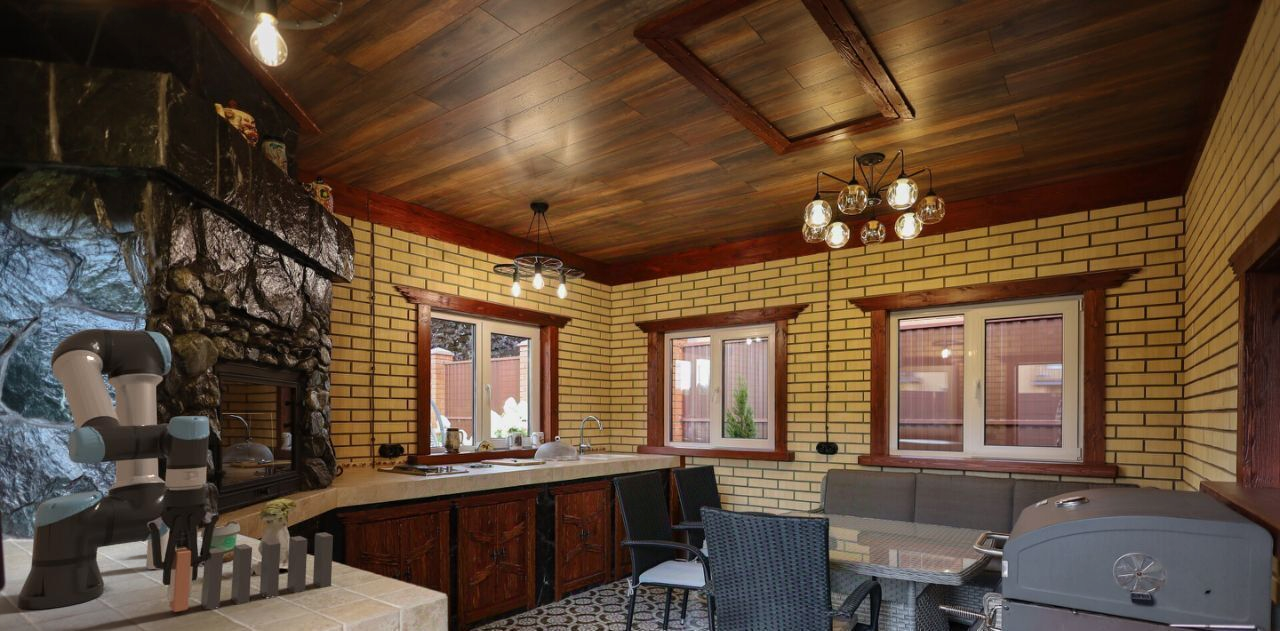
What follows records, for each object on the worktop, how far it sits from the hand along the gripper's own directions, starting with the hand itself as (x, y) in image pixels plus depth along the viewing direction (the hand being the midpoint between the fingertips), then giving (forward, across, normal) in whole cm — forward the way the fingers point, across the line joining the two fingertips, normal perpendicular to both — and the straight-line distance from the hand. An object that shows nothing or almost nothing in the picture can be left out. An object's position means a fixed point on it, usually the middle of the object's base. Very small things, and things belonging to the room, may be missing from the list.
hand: (178, 597), depth 150 cm
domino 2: (+3, +6, 0) cm, 7 cm away
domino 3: (+3, +12, 0) cm, 12 cm away
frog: (+3, +27, +24) cm, 36 cm away
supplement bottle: (+3, +13, +63) cm, 64 cm away
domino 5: (+3, +24, 0) cm, 24 cm away
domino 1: (+2, 0, 0) cm, 2 cm away
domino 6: (+3, +30, 0) cm, 30 cm away
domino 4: (+3, +18, 0) cm, 18 cm away
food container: (+3, +19, +43) cm, 47 cm away
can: (+3, +5, +48) cm, 48 cm away
